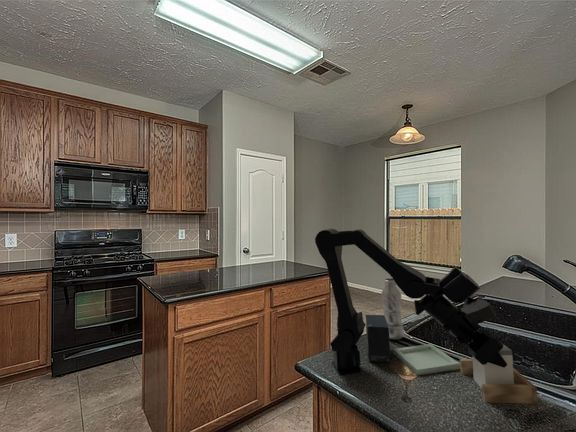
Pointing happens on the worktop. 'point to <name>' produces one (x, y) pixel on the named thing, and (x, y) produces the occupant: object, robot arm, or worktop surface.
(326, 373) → the worktop surface
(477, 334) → the robot arm
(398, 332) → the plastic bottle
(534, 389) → the bay
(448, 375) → the worktop surface
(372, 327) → the small box
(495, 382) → the grey drawer with handle
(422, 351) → the tray
